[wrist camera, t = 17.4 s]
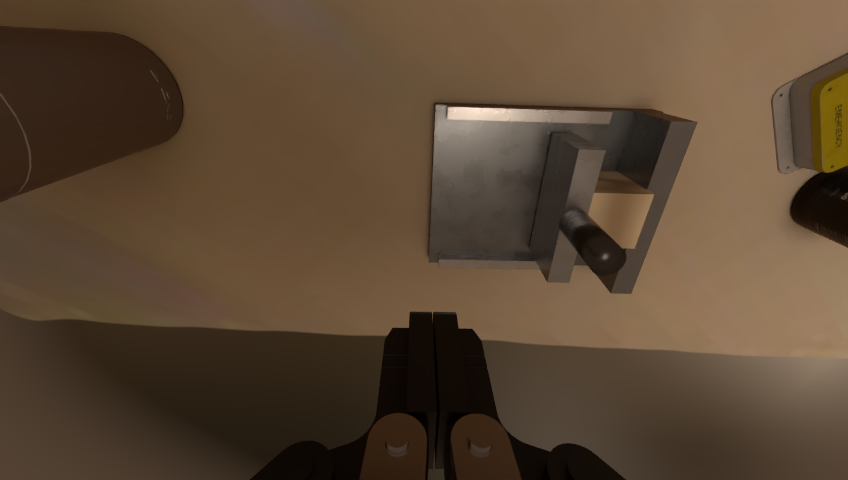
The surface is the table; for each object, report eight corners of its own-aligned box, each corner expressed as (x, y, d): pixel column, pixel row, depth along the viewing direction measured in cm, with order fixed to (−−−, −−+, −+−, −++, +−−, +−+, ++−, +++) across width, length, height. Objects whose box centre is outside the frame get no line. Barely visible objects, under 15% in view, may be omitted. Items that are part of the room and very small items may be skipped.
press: (428, 255, 39) (430, 290, 34) (435, 102, 32) (438, 114, 26) (604, 258, 40) (636, 293, 34) (653, 109, 32) (703, 122, 26)
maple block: (554, 218, 36) (577, 247, 30) (565, 170, 33) (592, 192, 28) (602, 219, 36) (634, 248, 30) (617, 171, 33) (654, 194, 28)
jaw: (527, 249, 37) (570, 328, 27) (550, 132, 31) (616, 174, 21) (549, 249, 37) (601, 328, 27) (576, 133, 31) (656, 175, 21)
